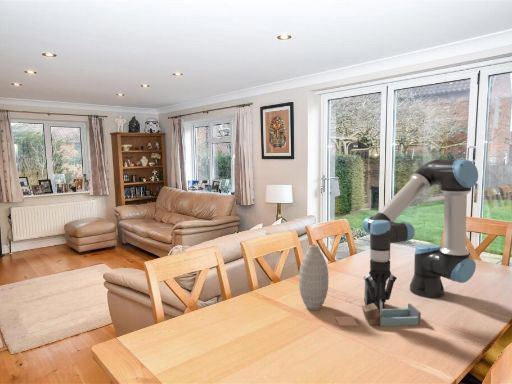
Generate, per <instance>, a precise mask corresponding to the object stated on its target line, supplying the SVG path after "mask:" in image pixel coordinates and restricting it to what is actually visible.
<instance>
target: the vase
mask: <svg viewBox="0 0 512 384" xmlns="http://www.w3.org/2000/svg"><path fill="white" fill-rule="evenodd" d="M298 271H299V273H298V278H299V279H298V284H299V291H300V296H301V299H302V301H303V304H304V305H305V307H306V309H308V310H310V311H319V310H320V309H321V308H322V306H323V305H324V303H325V301H326V299H327V295H328V290H329V269H328V265H327V260H326V259H325V257H324V255H323V254H322V252H321V250H320V248H319V244H313V243H311V244H310V245H309V247H308V250H307V251H306V252H305V254H304V256H303V258H302V260H301V263H300V267H299V270H298Z"/></svg>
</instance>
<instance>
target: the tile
mask: <svg viewBox="0 0 512 384" xmlns="http://www.w3.org/2000/svg"><path fill="white" fill-rule="evenodd" d="M334 319H335V320H336V322H337V323H338V326H339V327H341V328H342V327H358V326H359V324H358V323H357V322H356V320H355V319H354V317H353V316H335V317H334Z"/></svg>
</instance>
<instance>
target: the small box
mask: <svg viewBox="0 0 512 384" xmlns="http://www.w3.org/2000/svg"><path fill="white" fill-rule="evenodd" d="M370 282H371V284H372V287H373V291H374V294H375V288H374V280H373V279H372V278H371V281H370ZM363 298H364V299H363V301H364V306H365V305H369V304H372V303H374V304H375V301H373V300H372V299H371V297H370V294H369V290H368V287H367V283H366V281H365V280H364V297H363Z"/></svg>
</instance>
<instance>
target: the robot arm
mask: <svg viewBox="0 0 512 384" xmlns="http://www.w3.org/2000/svg"><path fill="white" fill-rule="evenodd" d="M478 181H479V170H478V168H477V166H476V165H475V163H474V162H473V161H471V160H469V159H461V158H460V159H459V158H458V159H454V158H452V159H451V158H450V159H449V158H448V159H441V158H437V159H434V160H433V159H432V160H430V161H428V162H426V163H424V164H423V165H422V166H420V167H419V168H417V169H416V171H414V172H413V173H412V174H411V175H410V180H408V181H407V182H406V184H405V185H403V187H402V188H401V189H399V191H397V193H396V194H394V196H393V197H391V199H390V200H388V202H387V203H386V204H385V205H383V207H382V208H381V209H380V210H379V211H378V212H377V213H376V214H375V215H374V216H367V217H365V218H364V219H363V222H362V229H363V231H364V232H365V233H367V234H369V239H370V240H369V242H370V243H369V245H370V246H369V251H370V252H369V253H370V254H369V258H370V261H369V268H370V269H369V270H370V271H369V272H368V274H367V275H366V276H363V280H364V282H365V281H366V283H367V287H368V290H369V294H370V297H371V299H372V300H373V301H375V306H376V307H377V308H378V311H379V314H380V317H381V318H383V317H382V309H386V308H385V305H386V304H385V303H386V302H387V301H389V300H390V298H391V295H392V292H393V288H394V285H395V284H394V283H395V282H396V280H397V279H398V278H397V277H396V276H395V275H394V274H392V272H391V244H395V243H402V242H404V243H405V242H407V241H410V240H412V239H413V238H414V237H415V231H416V230H415V227H414V226H413V225H412V224H411V223H410V222H403V221H402V222H395V221H396V220H397V219H398V218H399V217H400V216H401V215H402V214H403V213H404V212H405V211H406V210H407V208H409V206H411V204H412V203H413V202H414V201H416V199H417V198H418V197H419V196H420V195H421V194H422V193H423V192H424V191H428V190H429V189H430V188H431V187H432V186H436V185H437V186H438V185H439V186H440V191H441V193H443V195H444V199H443V201H444V202H443V203H444V204H443V205H444V207H443V209H444V212H443V246H442V245H438V244H420V245H417V246H416V247H415V251H414V264H413V265H414V266H413V267H414V268H413V269H414V271H413V272H414V273H413V277H412V279H411V281H410V283H409V291H410V292H411V293H412V294H414V295H418V296H421V297H424V298H425V297H426V298H440V297H443V296H444V295H445V289H444V284H443V282H442V278H445V279H447V280H450V281H452V282H455V283H456V282H457V283H461V284H463V283H467V282H468V281H469V280H471V279H472V277H473V276H474V273H475V271H476V267H477V266H476V265H477V264H476V262H475V259H473V258H472V257H470V251H469V250H468V248H467V247H466V246H467V244H466V243H467V206H468V204H467V203H468V201H467V199H468V198H467V197H468V194H470V192H471V191H472V188H473V187H475V186H476V185H477V182H478ZM441 277H442V278H441ZM371 279H373V280H374V288H375V294H374V291H373V287H372V284H371V282H370V281H371Z"/></svg>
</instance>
